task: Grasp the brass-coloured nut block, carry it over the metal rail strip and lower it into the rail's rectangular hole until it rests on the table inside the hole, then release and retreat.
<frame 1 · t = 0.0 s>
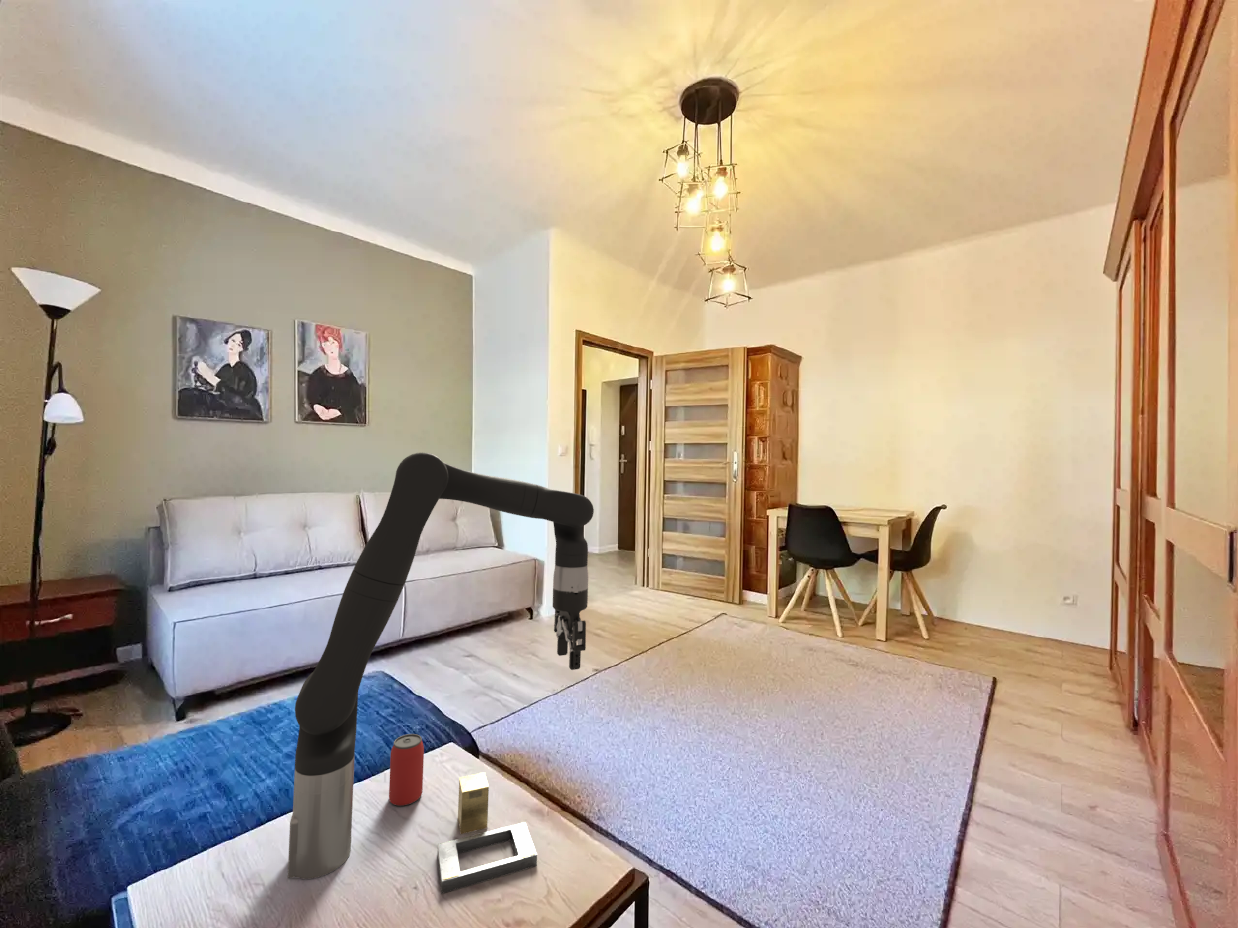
hand: (568, 661, 108), 29 cm above the table, fingers open, 8 cm apart
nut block: (472, 822, 100), on the table
rail: (486, 860, 90), on the table
beer can: (405, 798, 107), on the table
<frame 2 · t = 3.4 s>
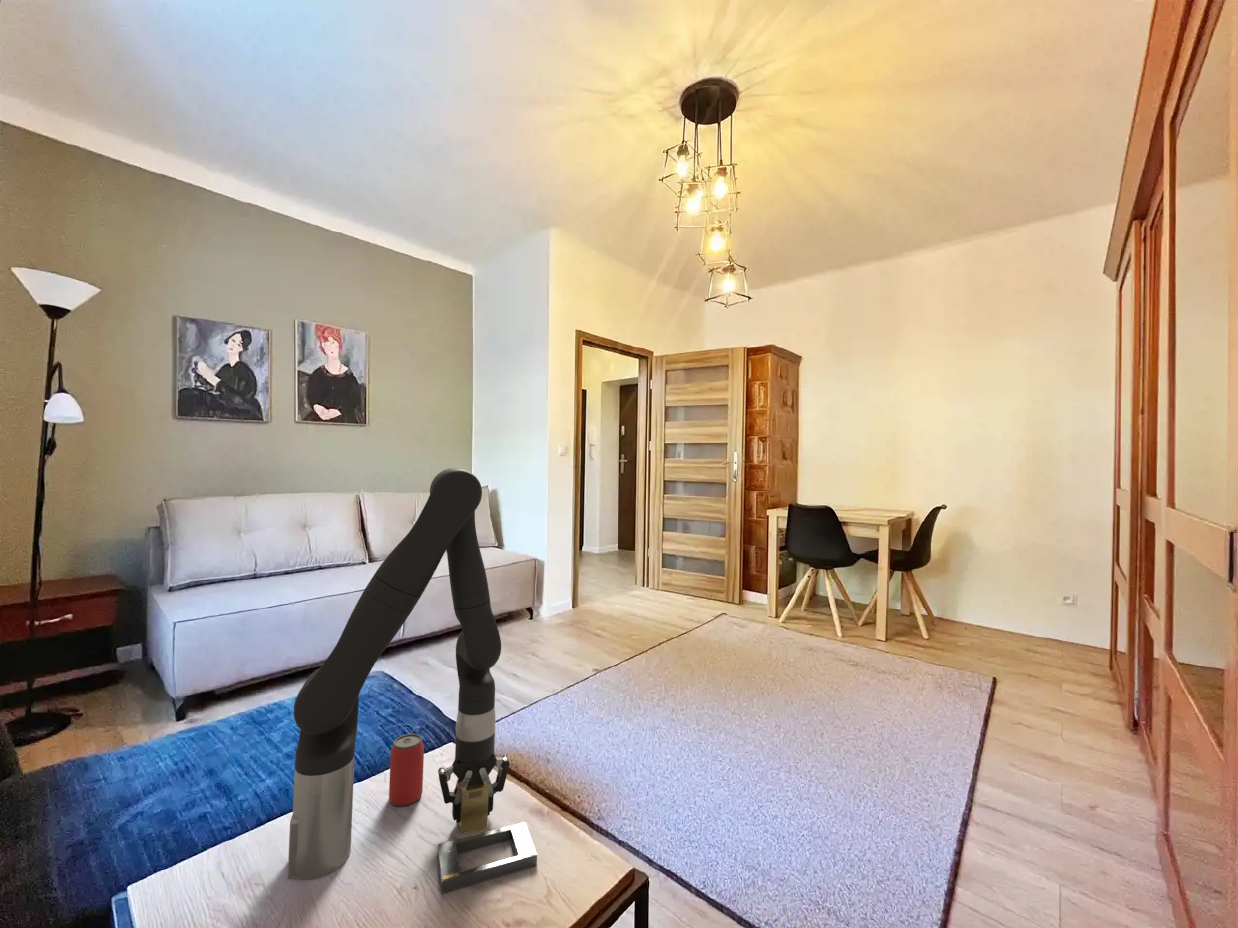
hand: (472, 816, 100), 1 cm above the table, fingers closed on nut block, 5 cm apart
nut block: (472, 822, 100), on the table, touching gripper
everything else where it was.
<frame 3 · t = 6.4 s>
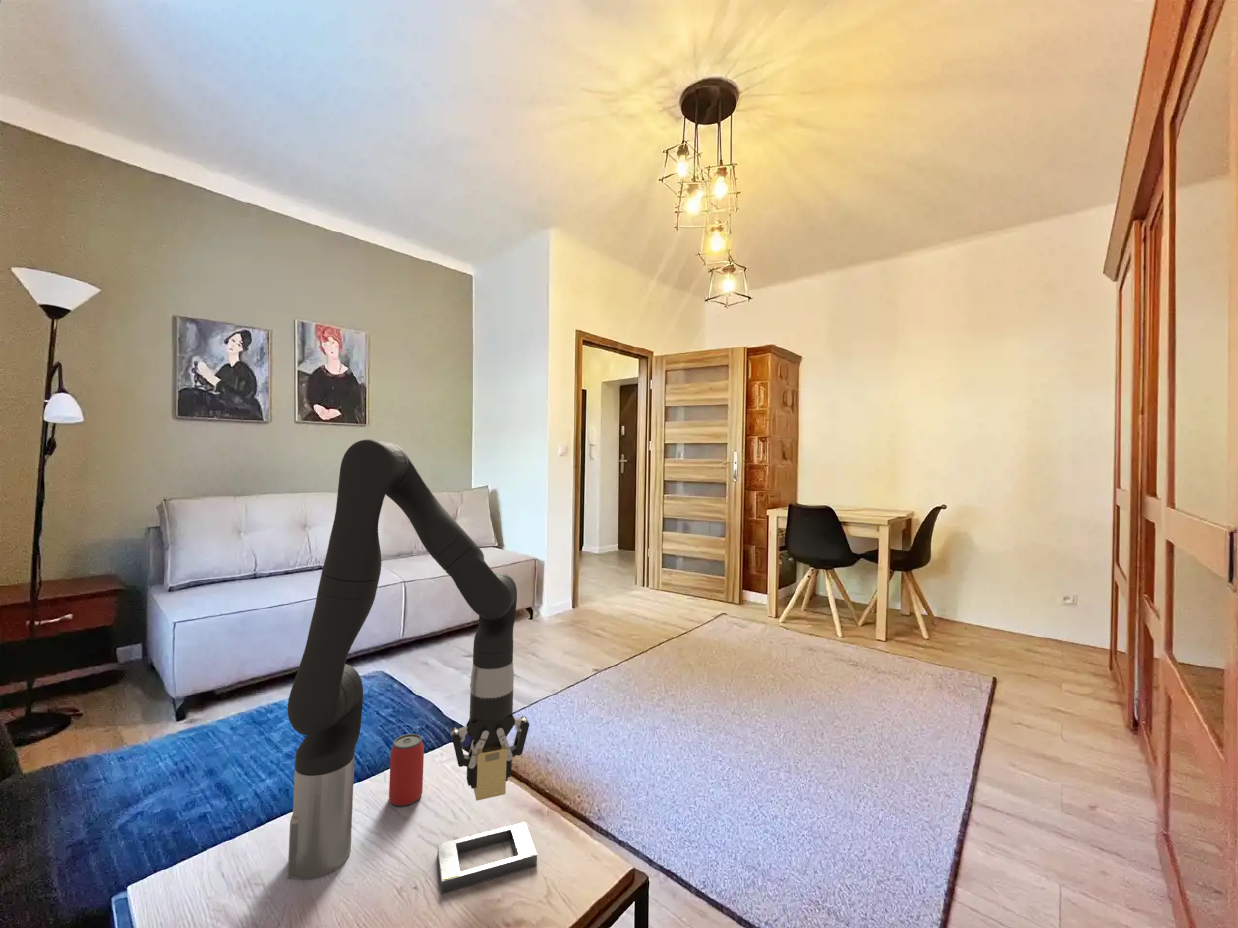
hand: (489, 781, 90), 14 cm above the table, fingers closed on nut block, 5 cm apart
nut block: (488, 788, 90), point 13 cm above the table, touching gripper
everything else where it was.
when the fingers open (2 cm above the table, at t = 9.2 s): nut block stays where it is, resting in rail.
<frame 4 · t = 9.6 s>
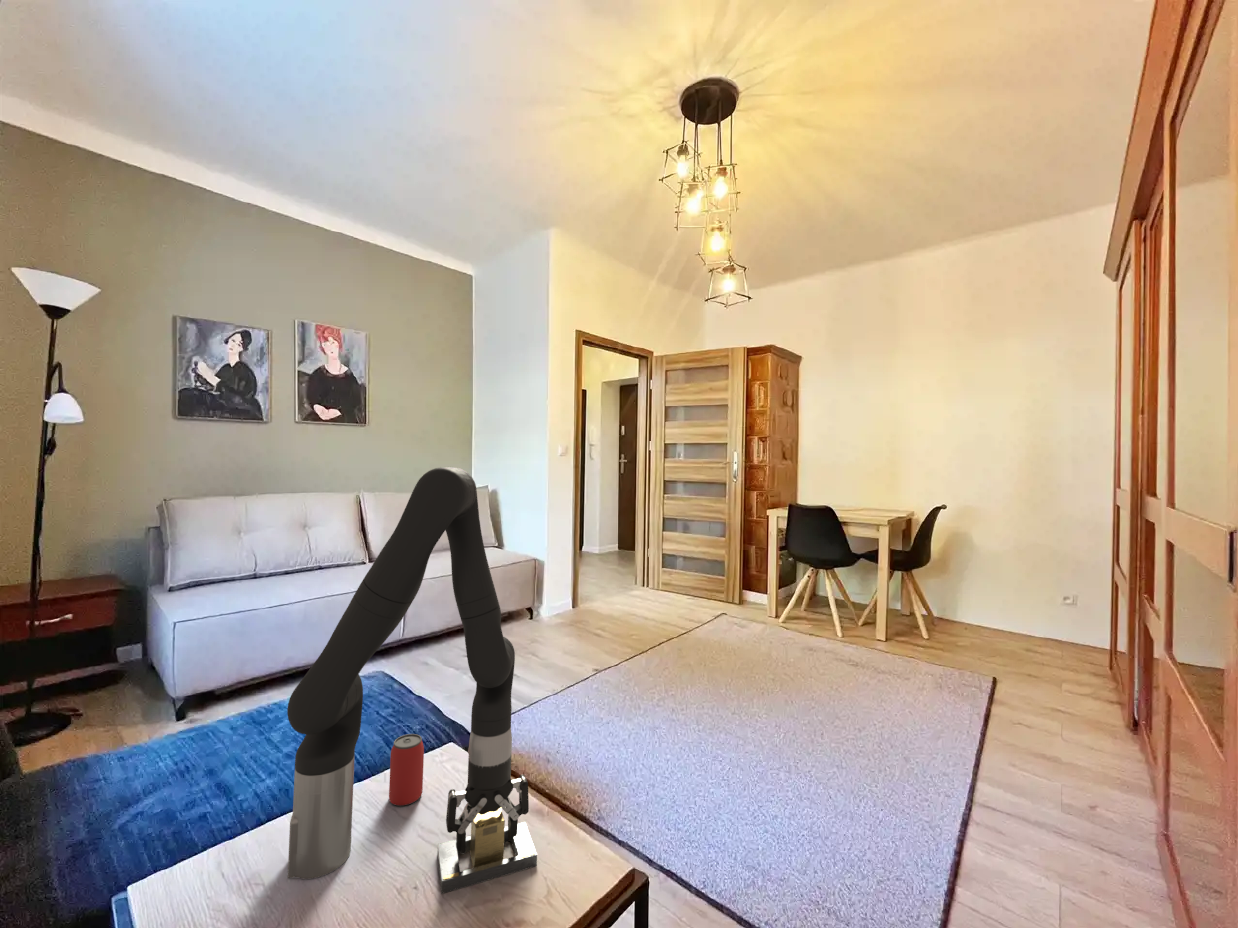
hand: (487, 844, 90), 3 cm above the table, fingers open, 8 cm apart
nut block: (486, 860, 90), resting in rail
everything else where it was.
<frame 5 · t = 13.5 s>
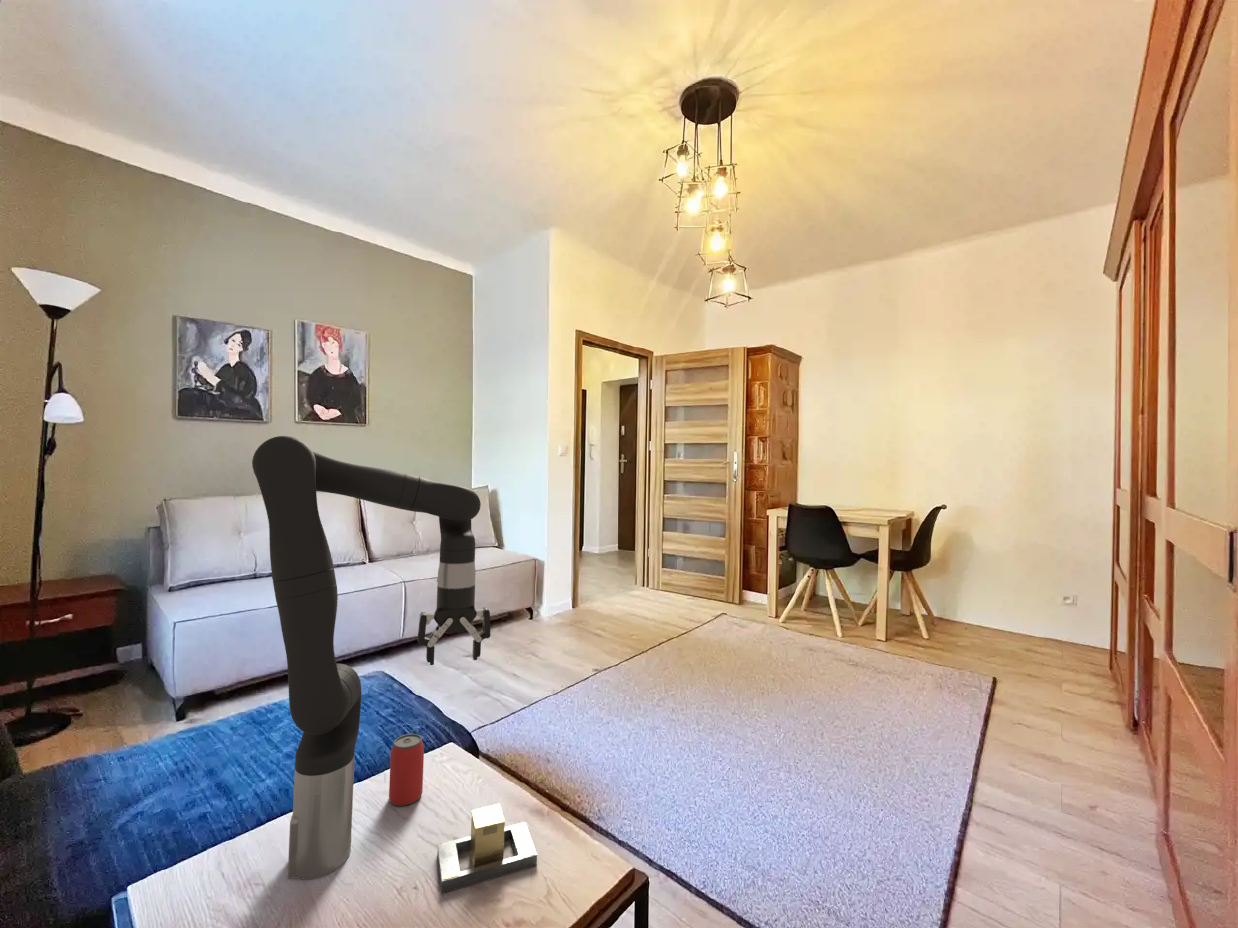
hand: (453, 661, 104), 30 cm above the table, fingers open, 8 cm apart
nothing on the table moved.
at the end: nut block 0.0 cm off-centre on the rail, point 0.0 cm above the rail's base; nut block tilted 0°; the gripper is holding nothing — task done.
